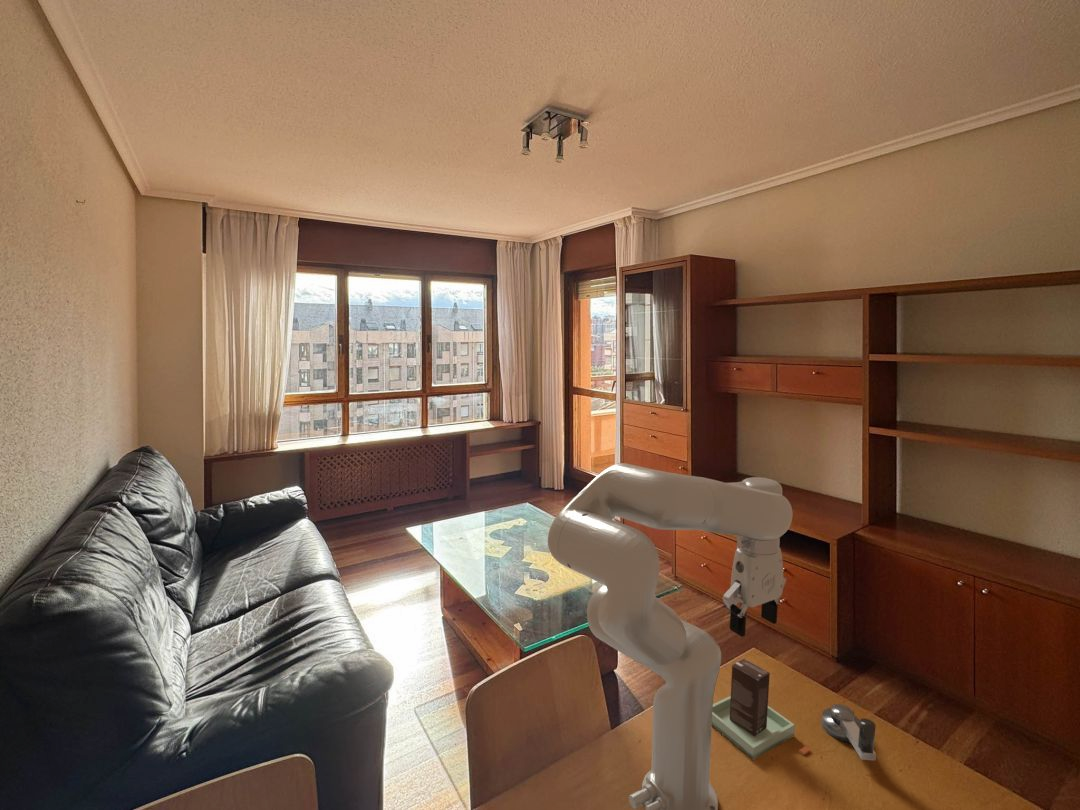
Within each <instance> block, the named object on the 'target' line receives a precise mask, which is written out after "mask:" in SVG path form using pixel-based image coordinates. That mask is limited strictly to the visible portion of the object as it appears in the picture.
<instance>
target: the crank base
mask: <svg viewBox="0 0 1080 810" xmlns="http://www.w3.org/2000/svg"><path fill="white" fill-rule="evenodd" d="M831 708H832V707H828V708H825V709H823V711H822V713H821V715H822V716H821V727H822V728H823V730H824V731H825V732H826V733H827V734H828V735H829V736H831V737H832V738H834V739H836V740H839V741H841V742H844V743H851V742H850V740H849V739H848V737H847V736H846V734H845V732H844V731H843V729H842V728H841V726H840V725H839V724H837V723H836V722H834V721H833V720H832V718H831ZM860 720H861V719H859V718H858V717H857V716H856V715H854V721H855V723H856V724H857V726H858V727H859V728H860ZM810 752H811V748H809V747H808V746H807V745H805V746H803V747H802V748H800V749H798V753H800V754H801V755H803V756H806V755H807V754H809V753H810Z"/></svg>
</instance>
